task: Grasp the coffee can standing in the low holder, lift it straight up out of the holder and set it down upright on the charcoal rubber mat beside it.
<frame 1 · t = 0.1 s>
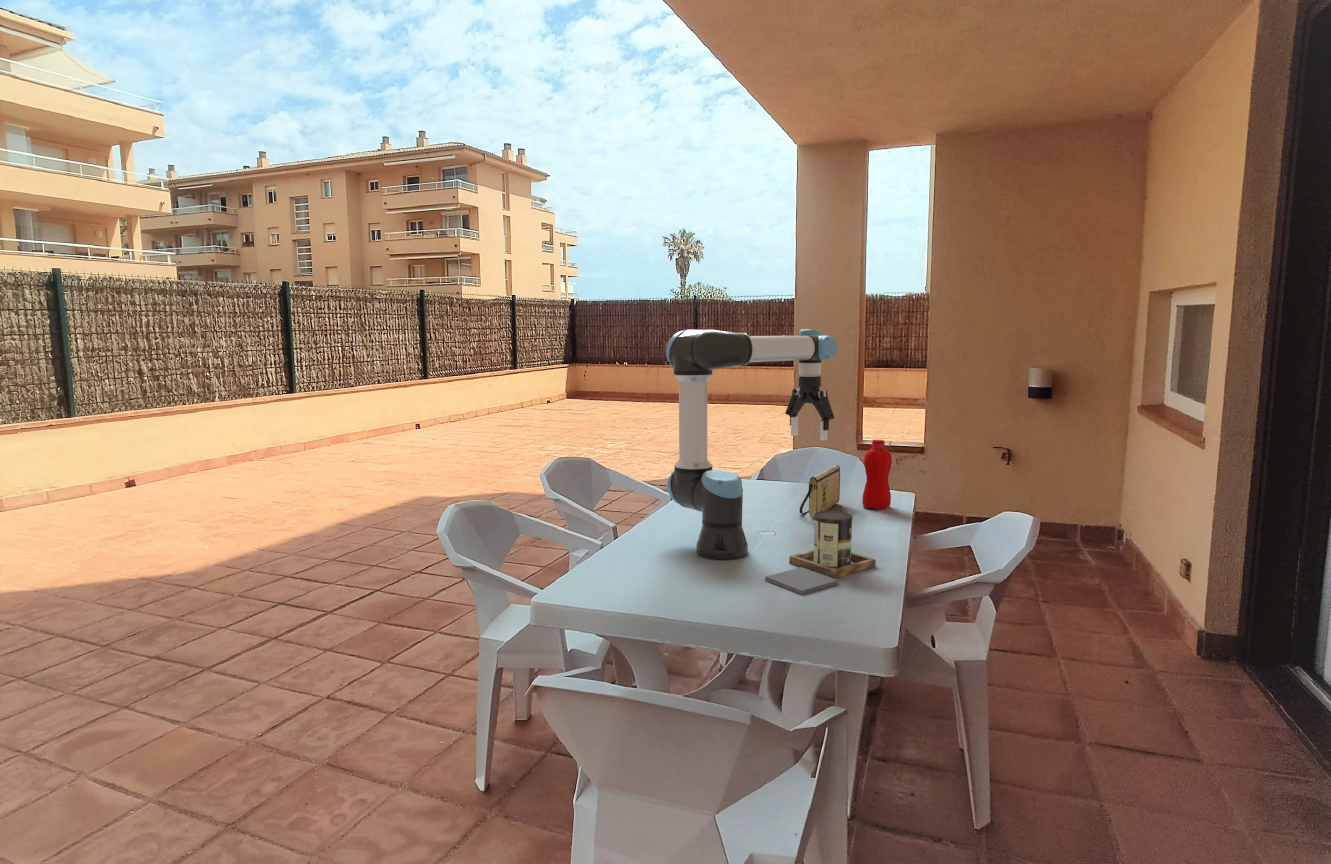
hand: (808, 437, 246), 28 cm above the table, tool pointing down, fingers open, 13 cm apart
coffee can: (831, 565, 199), resting in holder
holder: (832, 564, 199), on the table
clutch purse: (818, 511, 260), on the table
mat: (801, 582, 185), on the table
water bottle: (877, 507, 264), on the table
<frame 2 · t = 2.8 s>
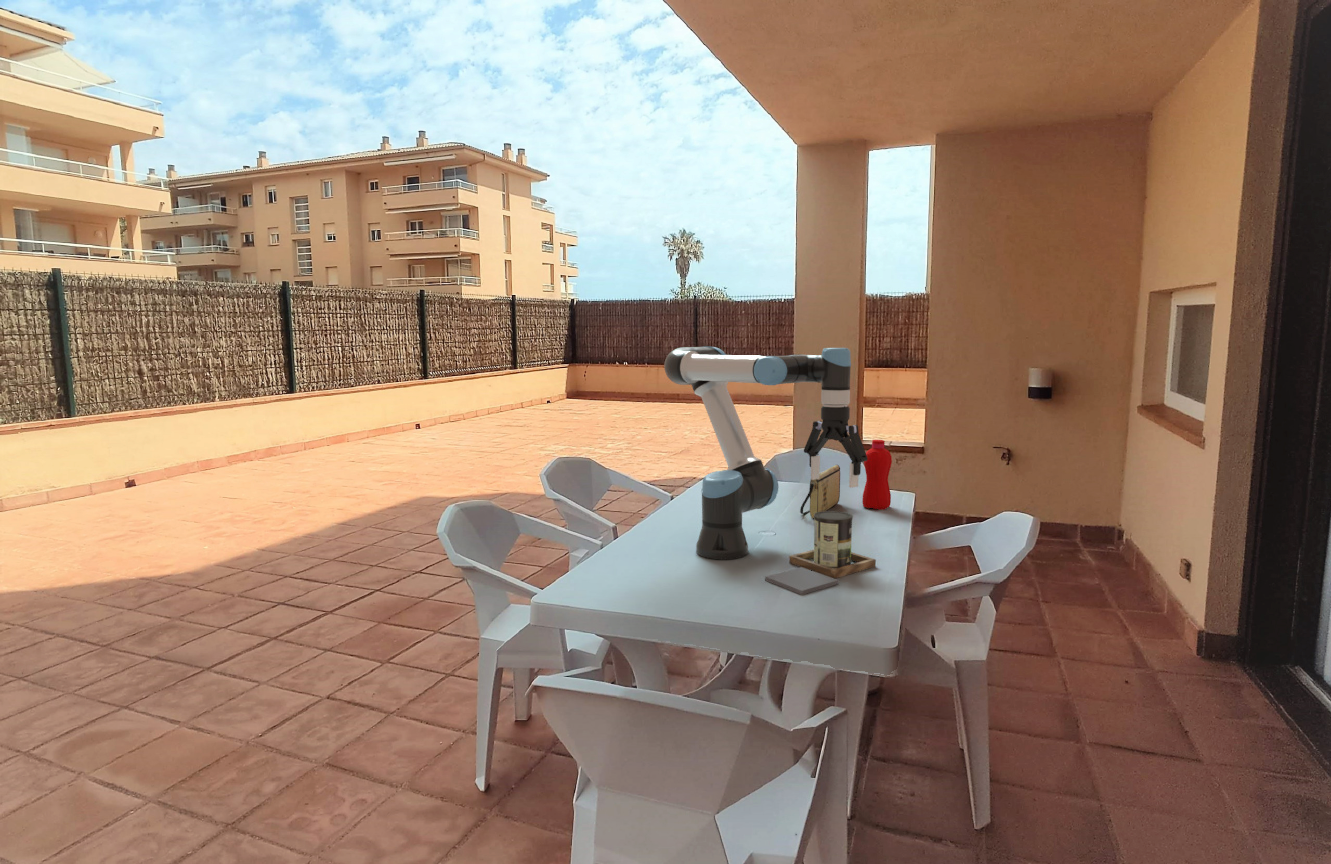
hand: (833, 483, 196), 23 cm above the table, tool pointing down, fingers open, 13 cm apart
nothing on the table moved.
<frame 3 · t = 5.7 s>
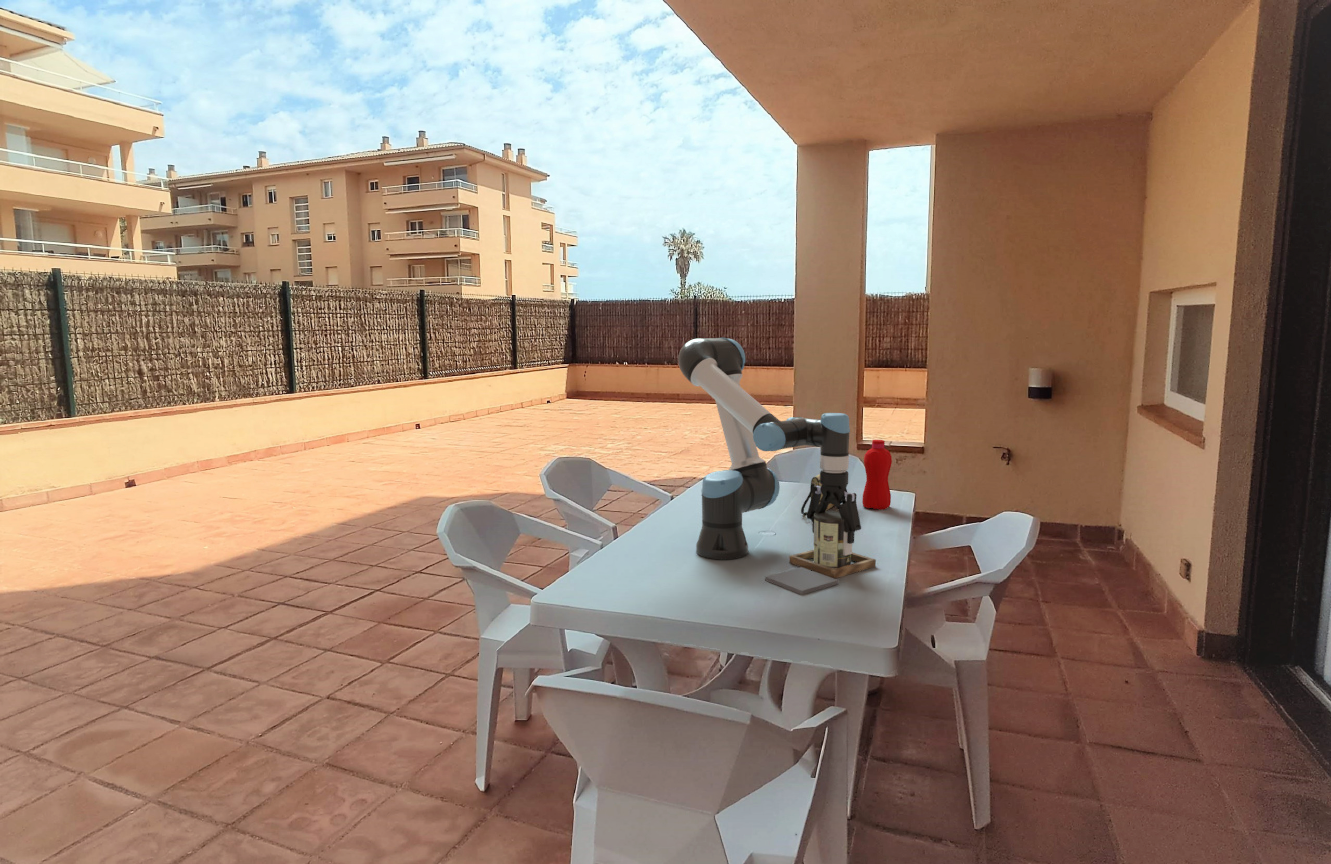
hand: (832, 549, 198), 4 cm above the table, tool pointing down, fingers closed on coffee can, 10 cm apart
coffee can: (831, 565, 199), resting in holder, touching gripper
everything else where it was.
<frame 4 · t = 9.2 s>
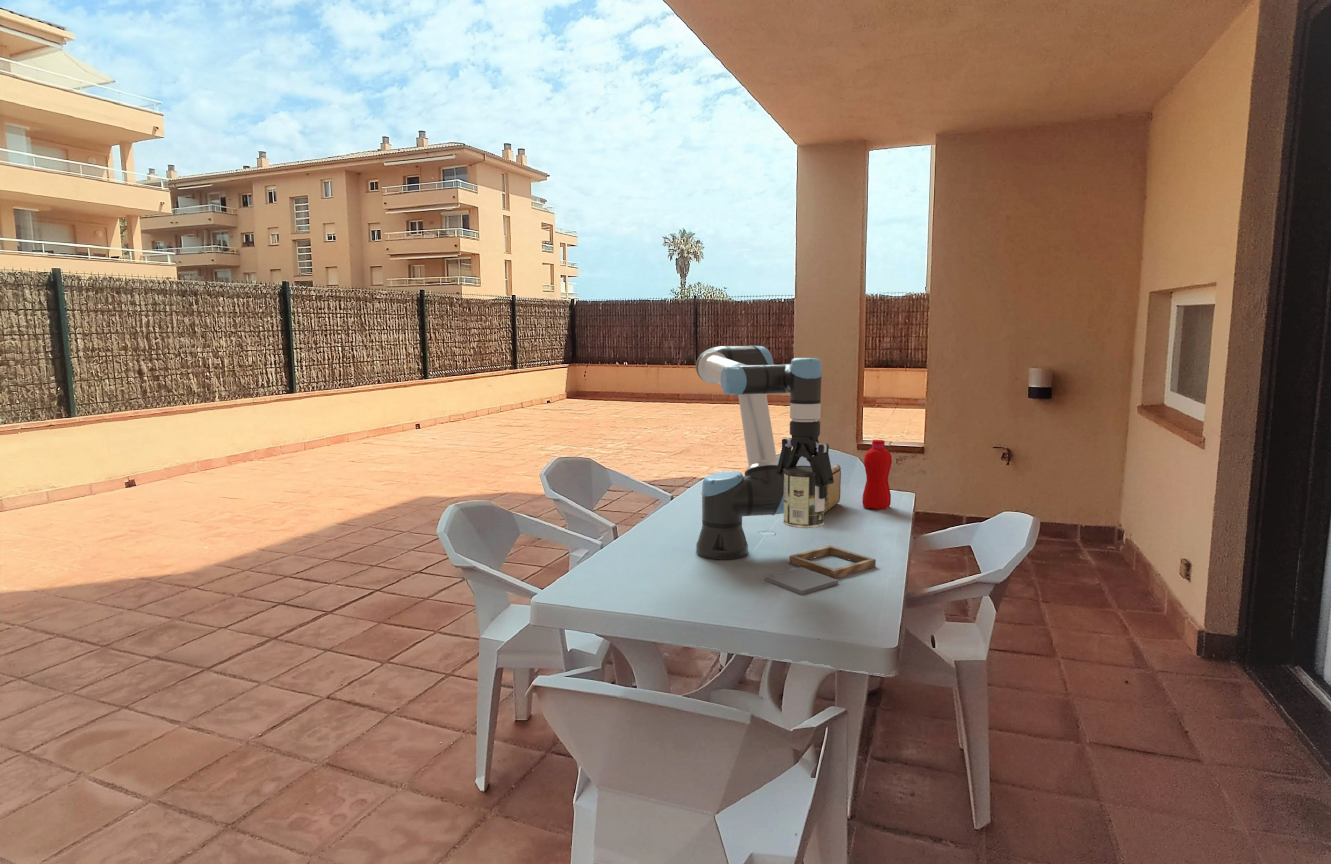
hand: (803, 506, 183), 20 cm above the table, tool pointing down, fingers closed on coffee can, 10 cm apart
coffee can: (803, 524, 183), point 15 cm above the table, touching gripper
everything else where it was.
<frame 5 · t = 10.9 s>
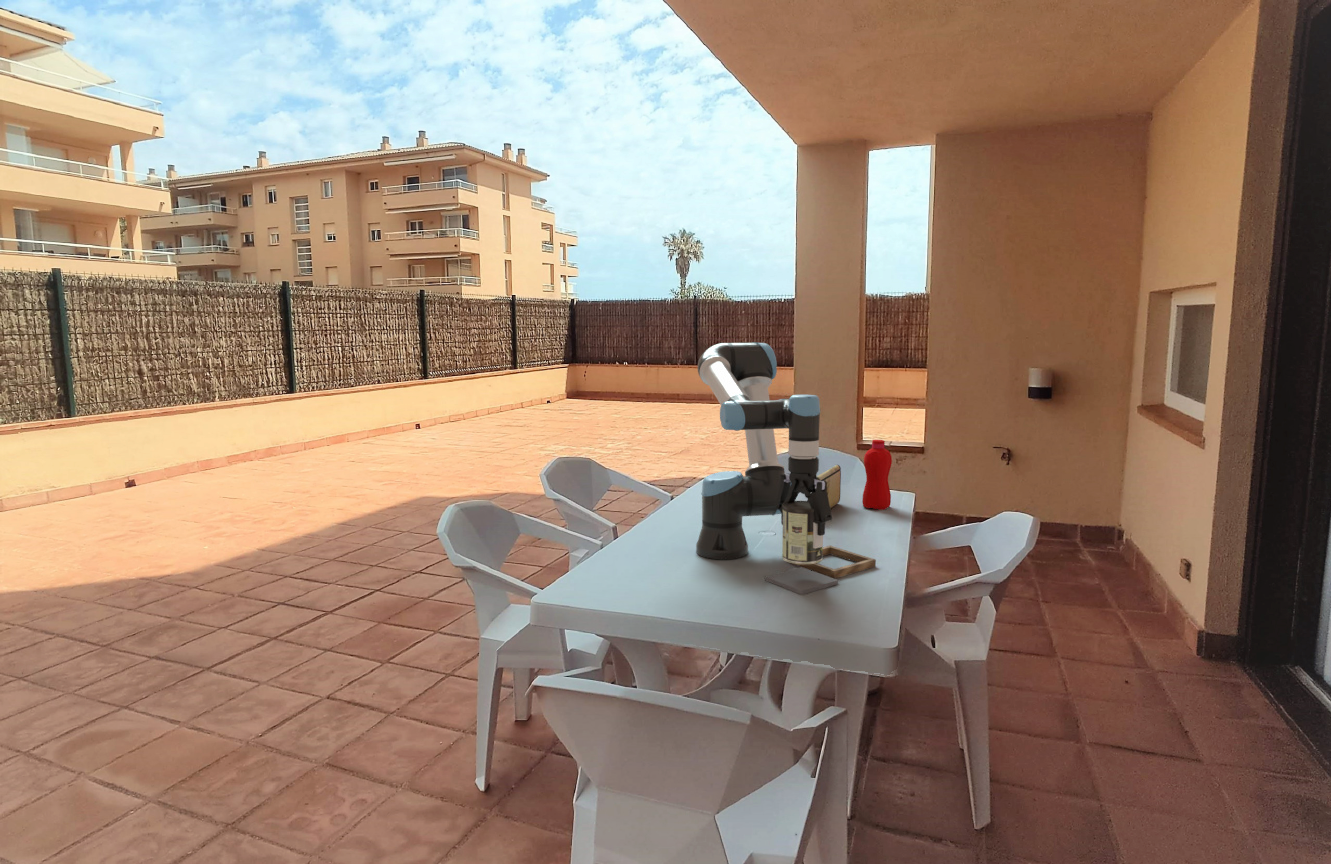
hand: (802, 542, 184), 11 cm above the table, tool pointing down, fingers closed on coffee can, 10 cm apart
coffee can: (801, 559, 184), point 6 cm above the table, touching gripper
everything else where it was.
when the fingers open (6 cm above the table, at t = 12.7 s): coffee can stays where it is, point 1 cm above the table.
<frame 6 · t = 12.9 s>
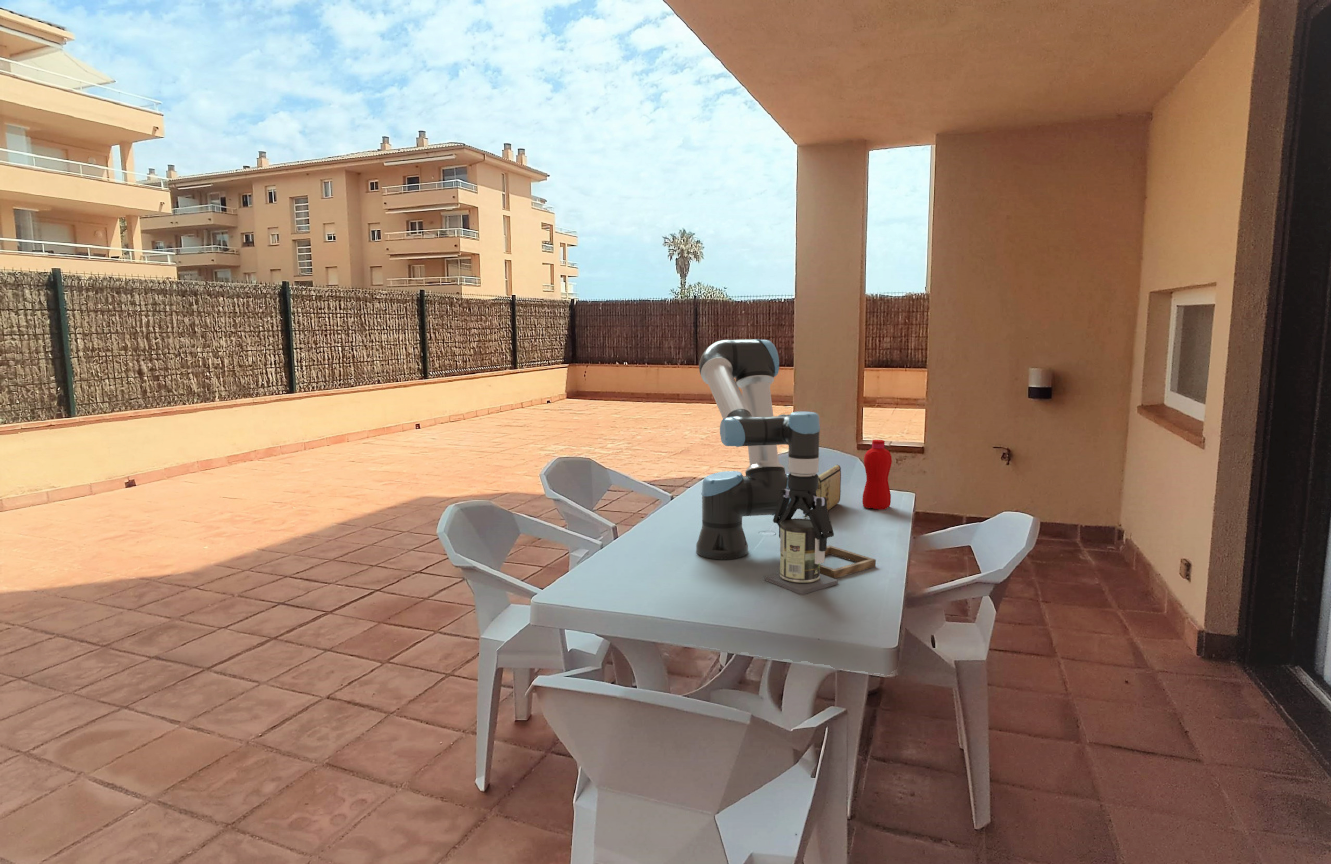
hand: (801, 557, 184), 7 cm above the table, tool pointing down, fingers open, 11 cm apart
coffee can: (799, 577, 186), point 1 cm above the table, touching gripper
everything else where it was.
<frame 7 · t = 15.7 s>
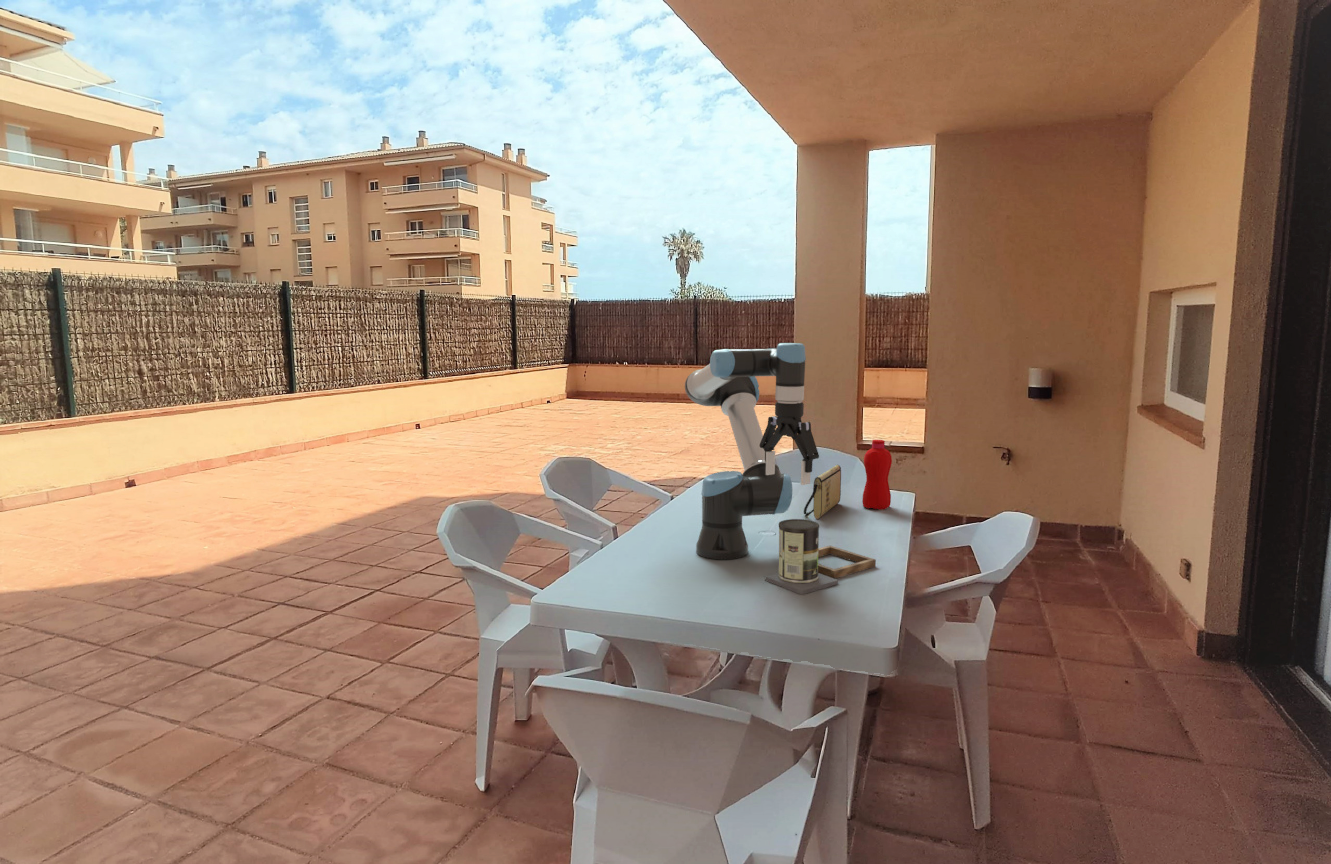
hand: (787, 479, 195), 24 cm above the table, tool pointing down, fingers open, 13 cm apart
coffee can: (798, 577, 186), point 1 cm above the table, touching mat
everything else where it was.
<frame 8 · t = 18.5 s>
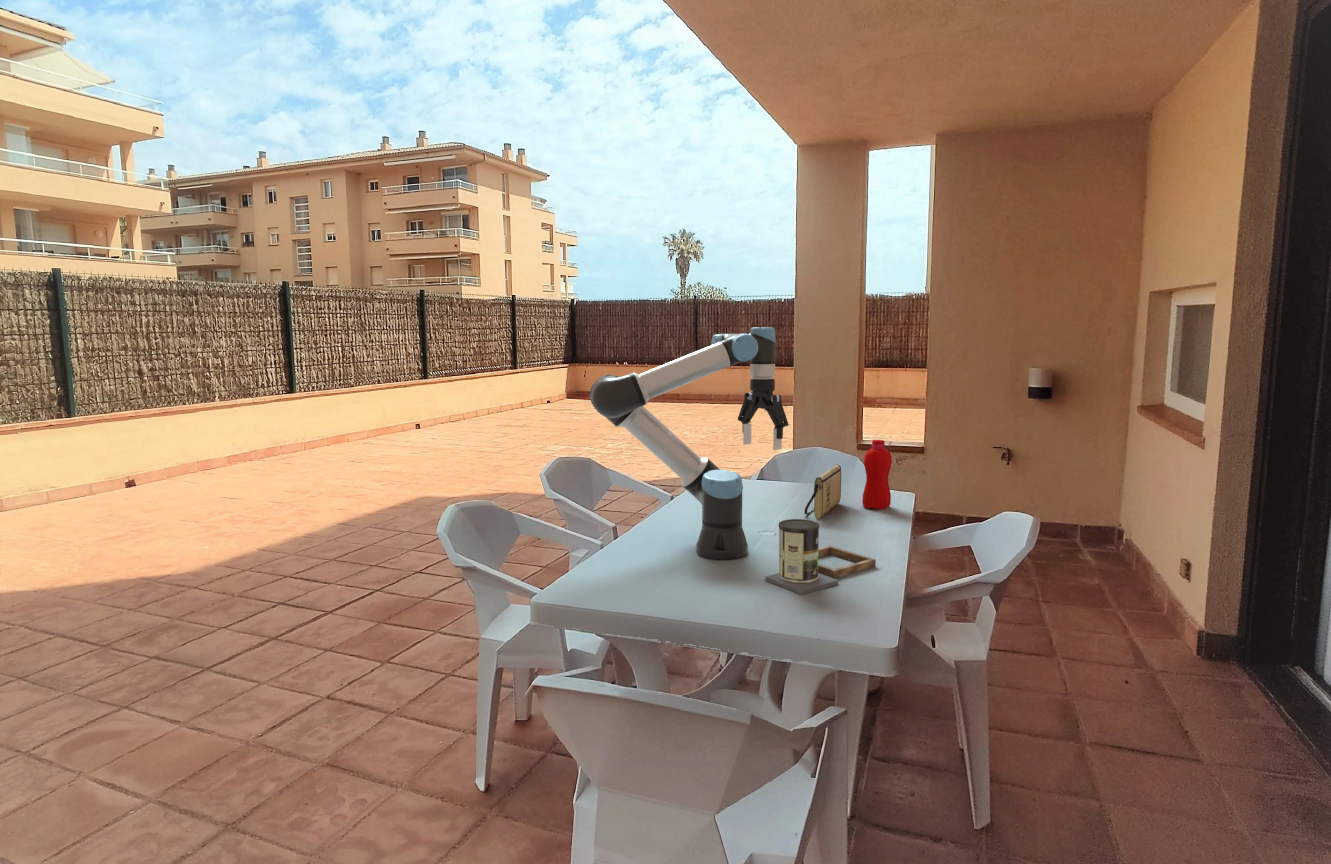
hand: (761, 446, 223), 29 cm above the table, tool pointing down, fingers open, 13 cm apart
at the end: coffee can inside the target area on the mat (1.3 cm from its centre), point 0.8 cm above the mat's base; coffee can tilted 0°; the gripper is holding nothing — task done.
